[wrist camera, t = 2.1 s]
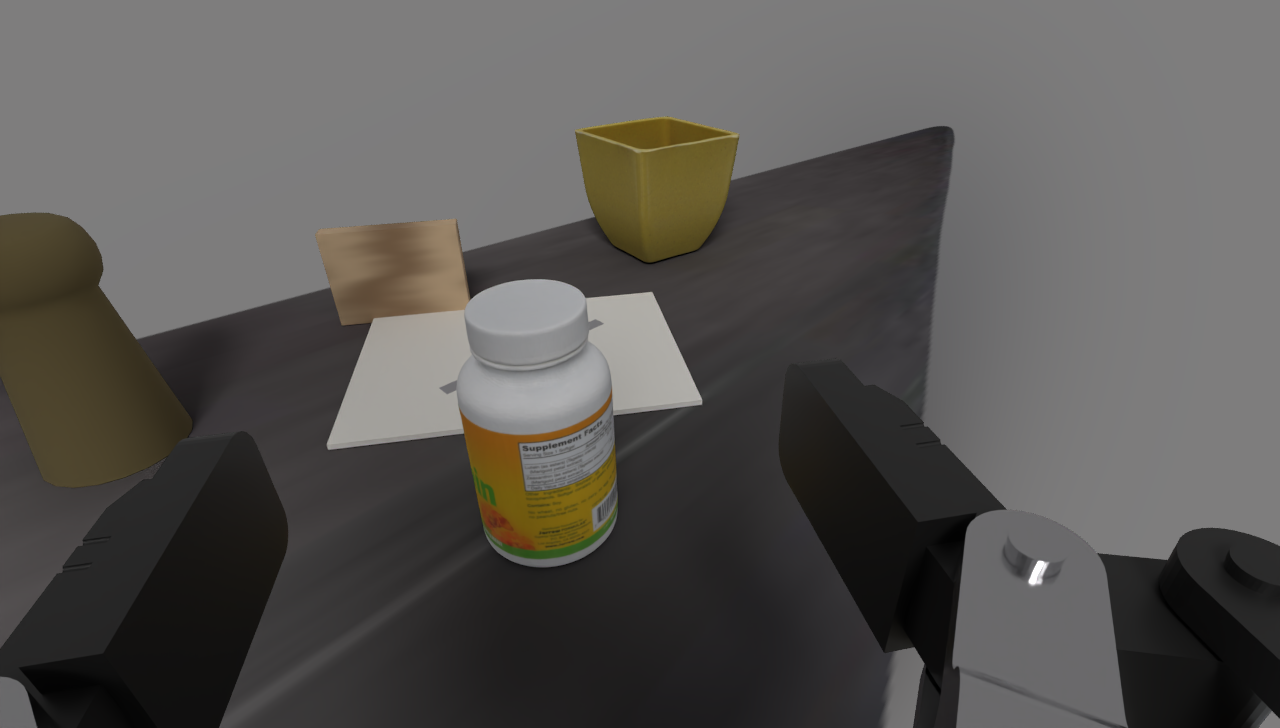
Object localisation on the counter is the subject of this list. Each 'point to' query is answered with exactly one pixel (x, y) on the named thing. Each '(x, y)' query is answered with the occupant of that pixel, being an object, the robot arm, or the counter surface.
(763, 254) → the counter surface
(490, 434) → the supplement bottle
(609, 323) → the paper
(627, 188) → the flower pot
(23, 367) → the olive chess pawn
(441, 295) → the wooden block
